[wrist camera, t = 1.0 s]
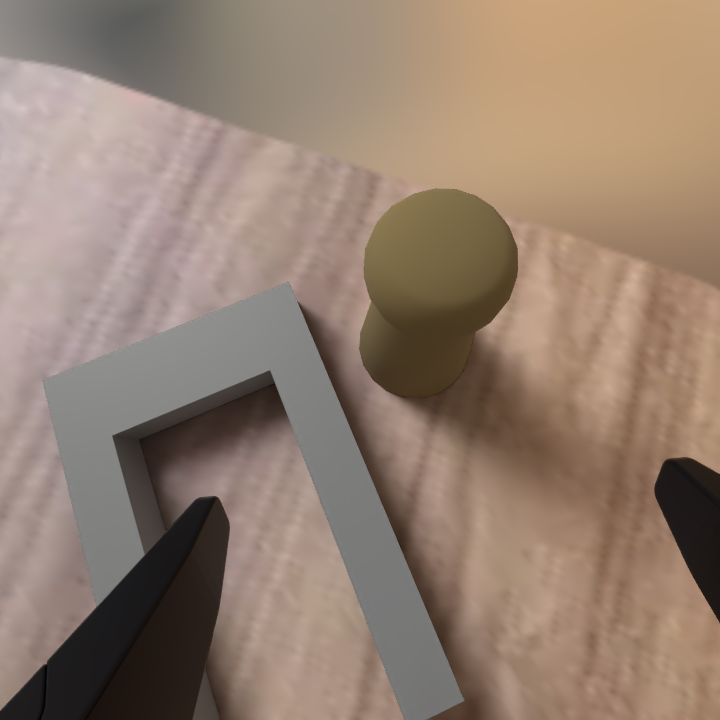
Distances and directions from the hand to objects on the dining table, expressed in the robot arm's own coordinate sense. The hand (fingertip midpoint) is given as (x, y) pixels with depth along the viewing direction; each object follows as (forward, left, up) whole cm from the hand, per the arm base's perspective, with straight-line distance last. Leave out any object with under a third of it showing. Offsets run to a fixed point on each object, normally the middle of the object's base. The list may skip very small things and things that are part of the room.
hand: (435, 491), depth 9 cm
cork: (+6, -4, -14) cm, 16 cm away
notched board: (+1, +8, -14) cm, 16 cm away
